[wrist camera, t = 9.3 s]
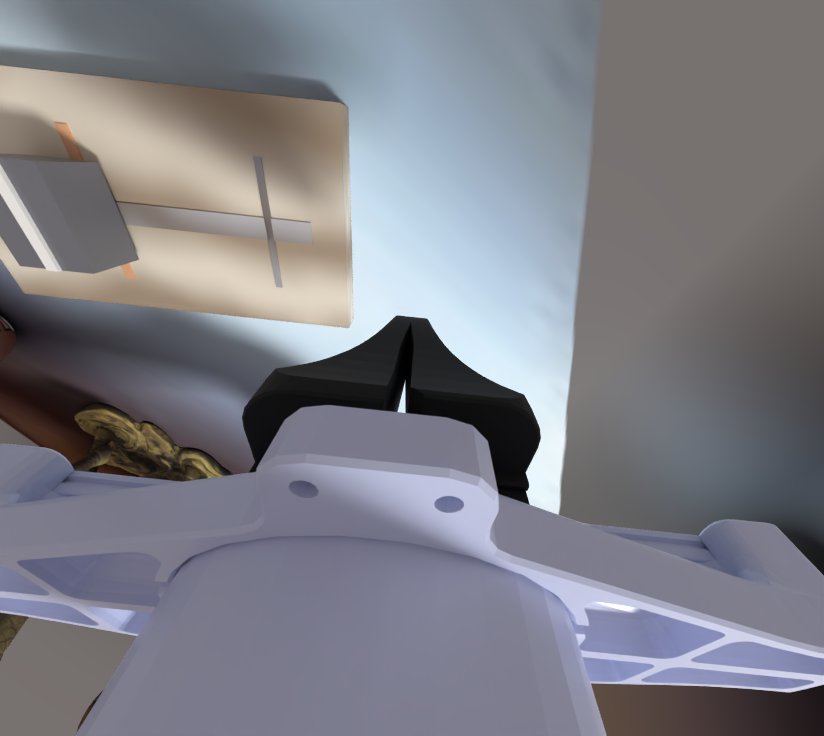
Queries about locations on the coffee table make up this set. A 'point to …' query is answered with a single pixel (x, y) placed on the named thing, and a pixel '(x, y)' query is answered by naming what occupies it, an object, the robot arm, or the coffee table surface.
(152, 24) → the coffee table surface
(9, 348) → the figurine character
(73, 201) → the fader tab
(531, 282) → the coffee table surface
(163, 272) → the fader console
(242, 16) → the coffee table surface
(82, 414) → the figurine
